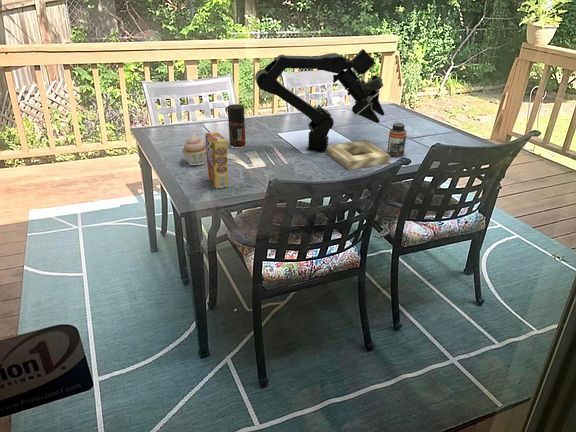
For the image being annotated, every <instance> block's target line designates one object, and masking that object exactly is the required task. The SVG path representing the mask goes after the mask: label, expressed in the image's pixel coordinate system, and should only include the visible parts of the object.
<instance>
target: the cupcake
mask: <svg viewBox="0 0 576 432" xmlns="http://www.w3.org/2000/svg"><path fill="white" fill-rule="evenodd" d="M181 153H182V154H183V155H184V156H183V157H184V158H185V161H186V162H188V163H191V164H199V163H203V162H205V161H206V162H207V154H206V141H204V139H202V138H200V137H198V136H197V135H195V134H192V136H190V137H189V138H188V139H186V142H185V143H184V145H183V148H182V150H181ZM206 162H205V163H206ZM188 163H187V164H188Z"/></svg>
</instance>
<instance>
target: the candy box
mask: <svg viewBox="0 0 576 432" xmlns="http://www.w3.org/2000/svg"><path fill="white" fill-rule="evenodd" d="M204 136H205V137H204V138H205V144H206V154H207V158H206V164H207V165H206V167H207V177H208V178H209V179H210V180H209V179H208V178H207V179H208V180H209V182H210V183H211V182H212V183H213V184H214V185H213V184H212V183H211V184H212V185H213V186H214V188H215V189H216V190H218V188H220V189H225V188H228V187H229V167H228V165H229V164H228V142H227V141H228V140H227V139H226V138H225V137H224V136H222V135H221V133H219V132H217V131H210V132H206V133H205V134H204ZM224 187H225V188H224Z"/></svg>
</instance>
